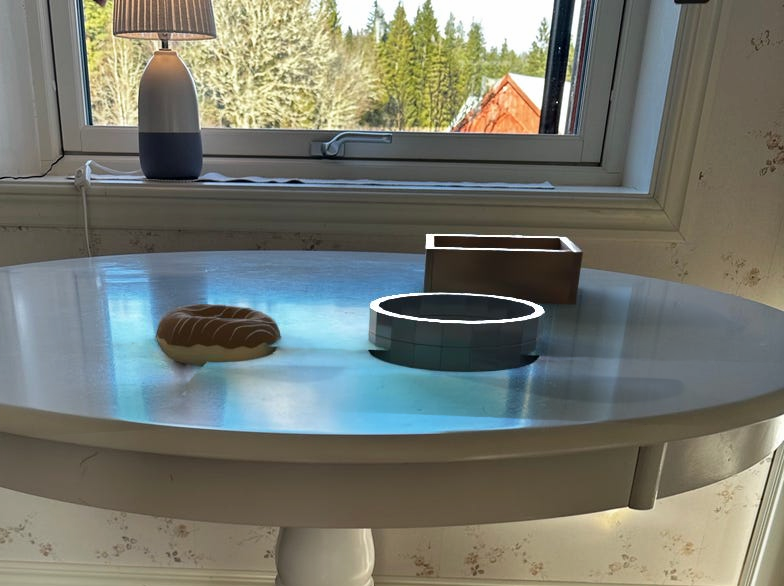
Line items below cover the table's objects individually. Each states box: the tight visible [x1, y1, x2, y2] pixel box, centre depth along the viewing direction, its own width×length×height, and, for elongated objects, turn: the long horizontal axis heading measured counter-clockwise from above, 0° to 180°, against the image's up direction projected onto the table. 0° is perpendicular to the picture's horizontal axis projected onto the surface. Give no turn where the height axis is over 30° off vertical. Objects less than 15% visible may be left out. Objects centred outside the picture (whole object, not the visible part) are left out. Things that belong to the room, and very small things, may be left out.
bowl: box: [367, 292, 546, 373], centre depth 81 cm, size 14×14×4 cm
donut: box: [155, 303, 282, 367], centre depth 81 cm, size 11×11×4 cm
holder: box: [422, 233, 584, 306], centre depth 104 cm, size 16×14×7 cm
